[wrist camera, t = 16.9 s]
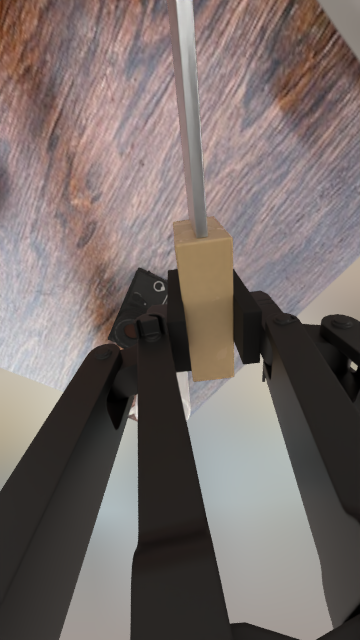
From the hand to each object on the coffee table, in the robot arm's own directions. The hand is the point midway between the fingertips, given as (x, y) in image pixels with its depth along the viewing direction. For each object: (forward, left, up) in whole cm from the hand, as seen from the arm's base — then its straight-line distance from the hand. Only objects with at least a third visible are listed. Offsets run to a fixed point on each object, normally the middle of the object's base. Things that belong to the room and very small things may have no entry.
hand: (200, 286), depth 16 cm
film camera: (+8, +11, -19) cm, 23 cm away
